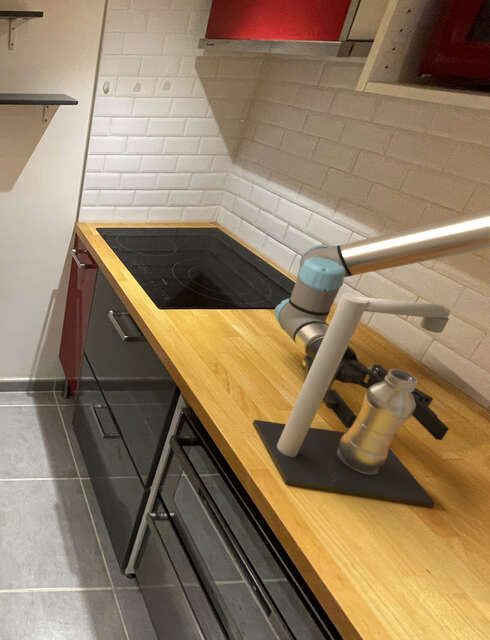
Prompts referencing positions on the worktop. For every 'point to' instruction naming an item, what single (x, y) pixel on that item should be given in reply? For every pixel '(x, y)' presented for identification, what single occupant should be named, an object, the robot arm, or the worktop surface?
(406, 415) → the plastic bottle
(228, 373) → the worktop surface
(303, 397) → the tap
